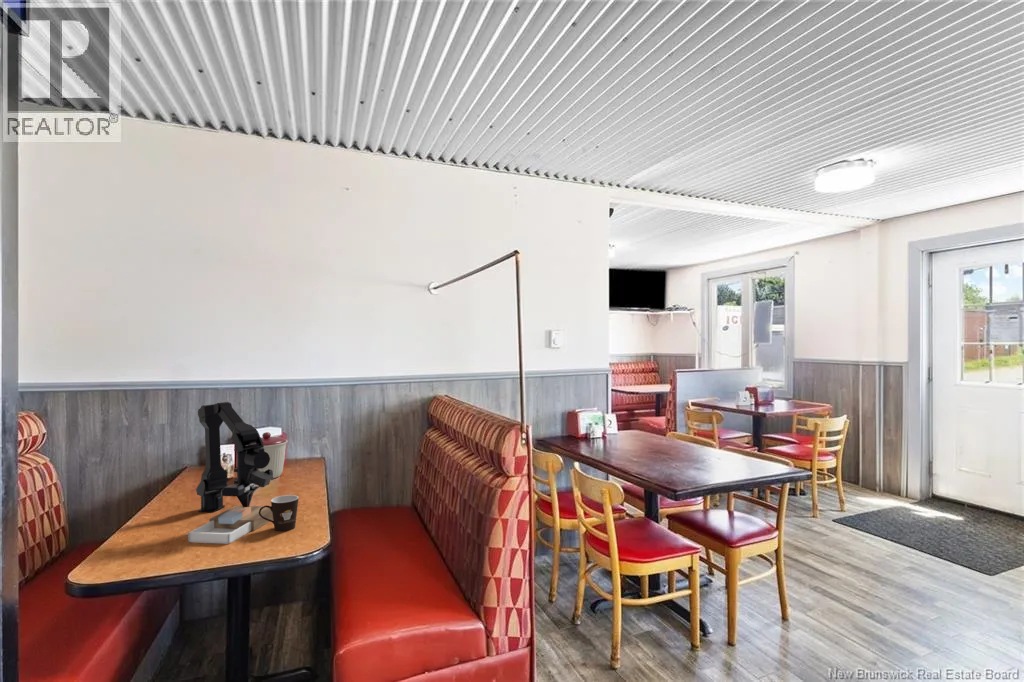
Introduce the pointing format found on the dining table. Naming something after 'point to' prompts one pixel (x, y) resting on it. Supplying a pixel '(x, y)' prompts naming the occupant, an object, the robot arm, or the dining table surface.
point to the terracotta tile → (242, 510)
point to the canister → (274, 453)
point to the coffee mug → (283, 512)
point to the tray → (217, 534)
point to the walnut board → (246, 518)
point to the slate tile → (230, 517)
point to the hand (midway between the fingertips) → (246, 508)
